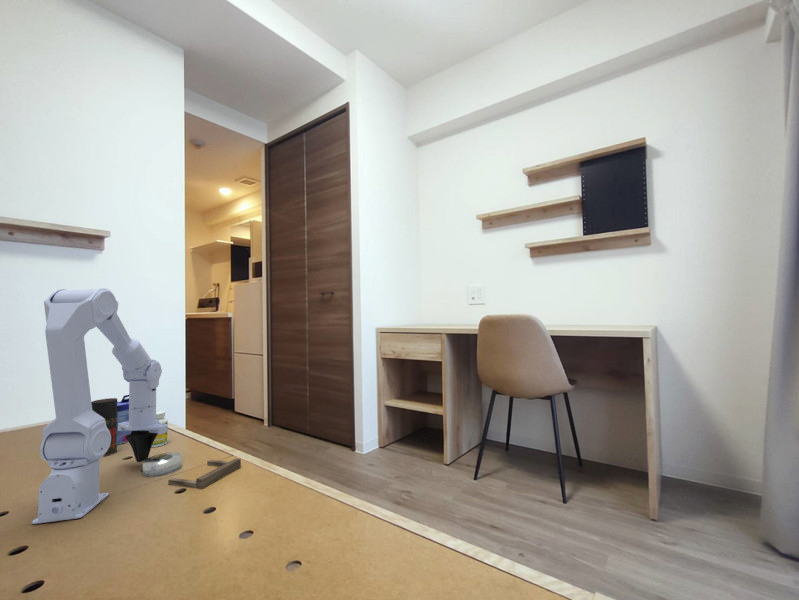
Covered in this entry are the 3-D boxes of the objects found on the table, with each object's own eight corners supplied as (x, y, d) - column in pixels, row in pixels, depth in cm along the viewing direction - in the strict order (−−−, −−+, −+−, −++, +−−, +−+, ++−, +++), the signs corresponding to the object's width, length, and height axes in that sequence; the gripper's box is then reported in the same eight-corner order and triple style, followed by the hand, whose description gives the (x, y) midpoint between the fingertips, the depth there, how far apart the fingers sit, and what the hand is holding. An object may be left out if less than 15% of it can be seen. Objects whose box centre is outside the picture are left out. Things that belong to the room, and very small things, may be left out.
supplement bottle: (145, 444, 110) (145, 412, 110) (166, 440, 113) (166, 409, 113) (146, 449, 105) (147, 416, 106) (168, 444, 109) (168, 412, 109)
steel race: (172, 475, 87) (172, 462, 87) (135, 479, 85) (135, 466, 85) (186, 462, 95) (186, 450, 95) (152, 465, 93) (152, 453, 93)
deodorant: (85, 458, 99) (86, 403, 100) (96, 451, 105) (97, 399, 105) (110, 456, 100) (111, 401, 101) (120, 448, 106) (121, 397, 107)
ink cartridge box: (115, 446, 109) (115, 397, 109) (102, 445, 110) (102, 397, 111) (146, 436, 118) (147, 391, 119) (134, 434, 120) (134, 390, 121)
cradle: (240, 467, 90) (240, 458, 90) (201, 488, 79) (201, 479, 79) (210, 463, 93) (210, 455, 93) (168, 484, 82) (168, 475, 82)
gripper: (178, 404, 94) (177, 457, 94) (137, 402, 99) (136, 452, 98) (152, 410, 88) (152, 467, 87) (109, 408, 92) (108, 462, 91)
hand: (142, 460), depth 92 cm, fingers closed
